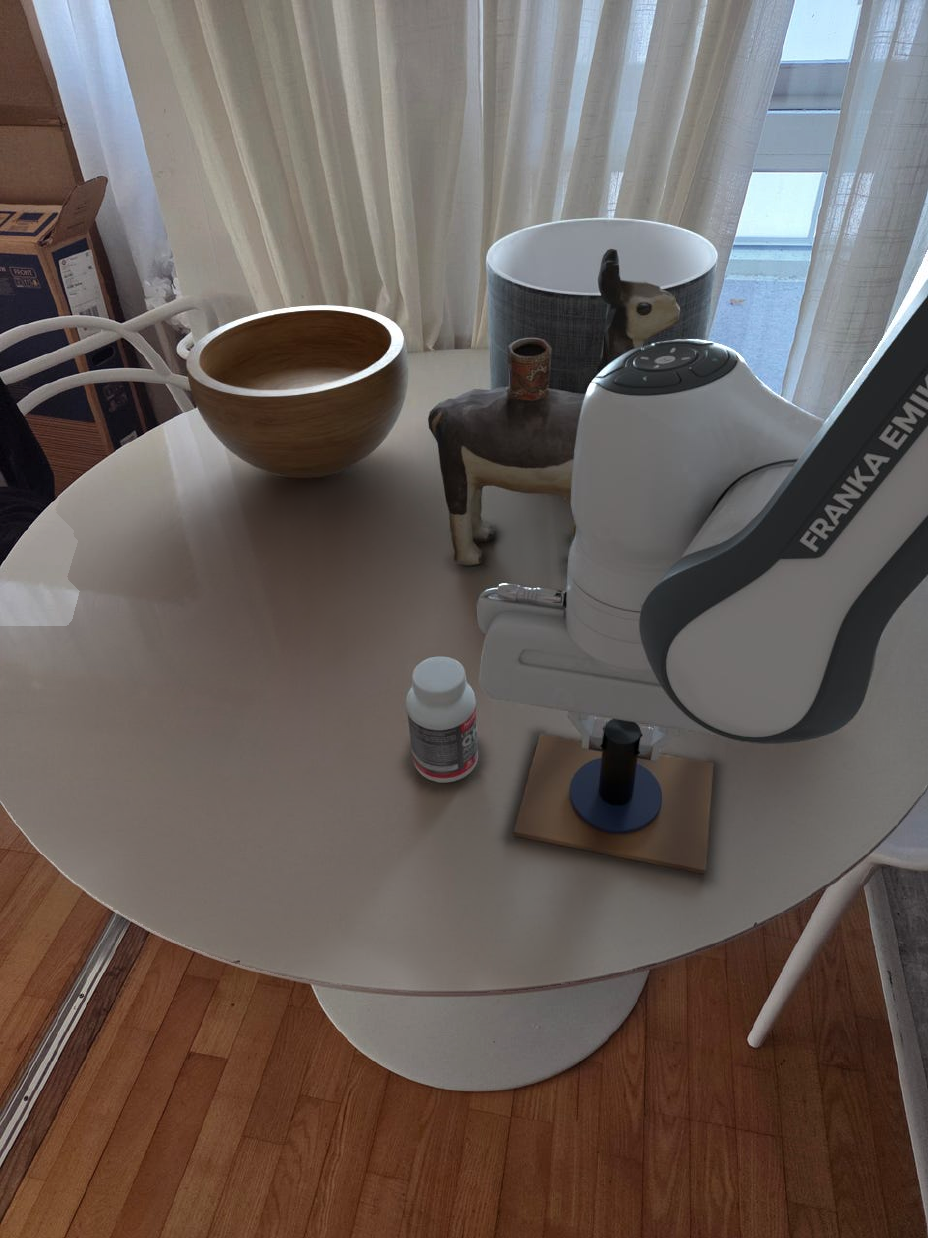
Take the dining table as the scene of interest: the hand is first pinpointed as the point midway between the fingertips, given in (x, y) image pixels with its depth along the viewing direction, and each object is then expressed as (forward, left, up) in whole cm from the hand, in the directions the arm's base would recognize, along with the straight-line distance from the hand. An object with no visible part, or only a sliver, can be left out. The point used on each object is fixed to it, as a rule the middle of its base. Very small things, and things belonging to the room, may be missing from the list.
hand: (621, 748), depth 62 cm
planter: (+11, -57, -6) cm, 58 cm away
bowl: (+43, -43, -6) cm, 61 cm away
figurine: (+12, -31, -6) cm, 34 cm away
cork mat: (0, 0, -6) cm, 6 cm away
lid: (0, 0, -6) cm, 6 cm away
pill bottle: (+14, -1, -6) cm, 15 cm away
